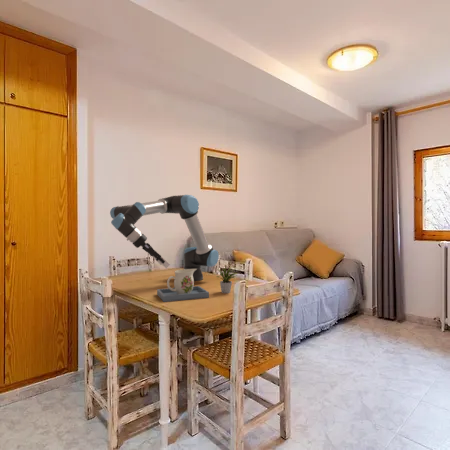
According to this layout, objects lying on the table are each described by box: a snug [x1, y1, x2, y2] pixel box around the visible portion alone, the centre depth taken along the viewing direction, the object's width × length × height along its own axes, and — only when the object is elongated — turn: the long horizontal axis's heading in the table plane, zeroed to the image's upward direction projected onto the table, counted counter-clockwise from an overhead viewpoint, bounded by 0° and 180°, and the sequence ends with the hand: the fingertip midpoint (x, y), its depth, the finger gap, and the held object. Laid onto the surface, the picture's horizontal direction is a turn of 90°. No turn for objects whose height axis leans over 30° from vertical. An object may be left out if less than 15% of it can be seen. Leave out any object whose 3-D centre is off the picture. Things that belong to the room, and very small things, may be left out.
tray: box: [156, 285, 210, 303], centre depth 182 cm, size 25×18×3 cm
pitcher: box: [166, 269, 197, 295], centre depth 182 cm, size 11×18×14 cm, turn 122°
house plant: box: [214, 266, 238, 294], centre depth 191 cm, size 14×14×16 cm
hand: (165, 264), depth 178 cm, fingers open, 13 cm apart
